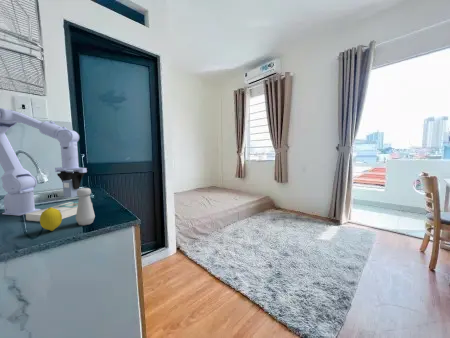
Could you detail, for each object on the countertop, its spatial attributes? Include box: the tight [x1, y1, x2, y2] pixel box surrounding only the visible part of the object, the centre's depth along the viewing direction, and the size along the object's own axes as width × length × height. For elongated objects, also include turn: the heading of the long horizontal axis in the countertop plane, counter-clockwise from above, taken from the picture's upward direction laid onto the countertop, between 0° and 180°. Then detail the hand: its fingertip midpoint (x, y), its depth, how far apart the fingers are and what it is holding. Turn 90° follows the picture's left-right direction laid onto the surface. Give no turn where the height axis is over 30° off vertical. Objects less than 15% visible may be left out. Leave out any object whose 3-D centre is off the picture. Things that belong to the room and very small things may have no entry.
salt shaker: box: [75, 187, 96, 226], centre depth 72 cm, size 6×6×13 cm
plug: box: [62, 179, 78, 198], centre depth 87 cm, size 4×4×7 cm
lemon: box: [39, 206, 63, 232], centre depth 66 cm, size 6×6×8 cm
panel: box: [25, 201, 94, 222], centre depth 83 cm, size 12×18×3 cm, turn 169°
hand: (72, 188), depth 87 cm, fingers closed on plug, 4 cm apart
